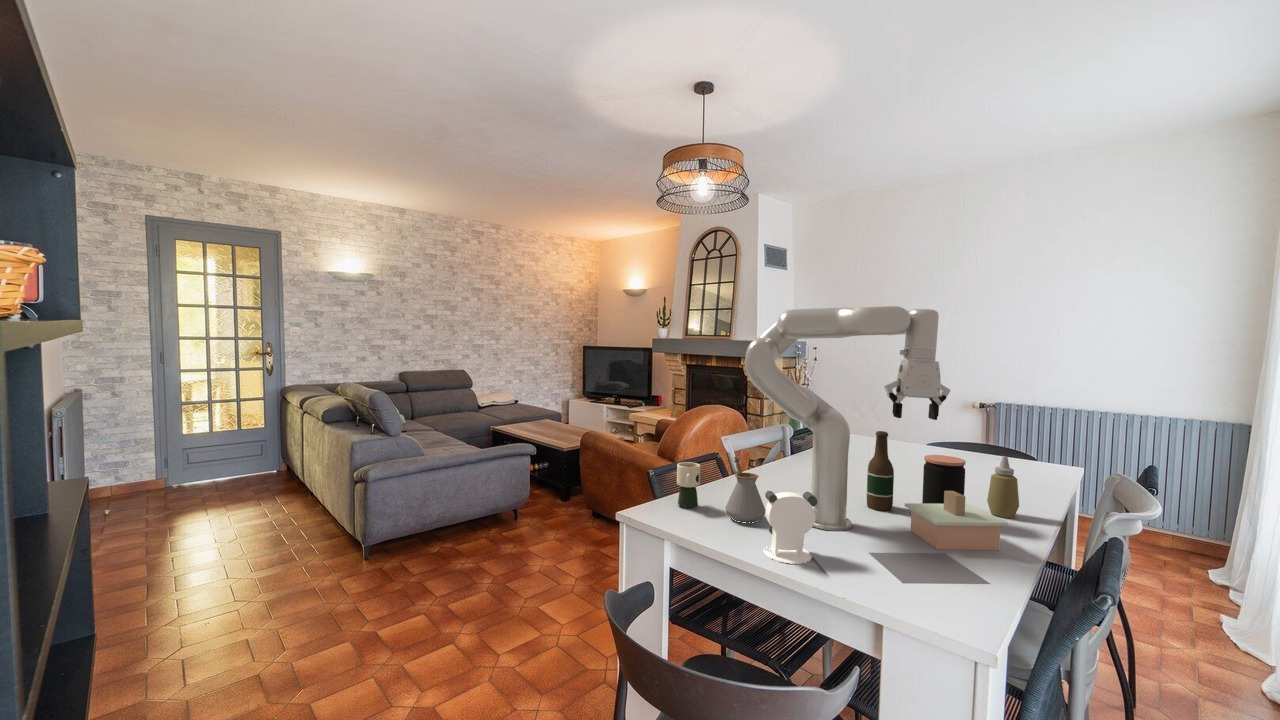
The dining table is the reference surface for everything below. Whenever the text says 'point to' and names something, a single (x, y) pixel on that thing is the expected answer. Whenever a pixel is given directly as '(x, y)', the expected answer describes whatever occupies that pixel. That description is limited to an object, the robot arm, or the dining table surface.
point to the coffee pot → (745, 498)
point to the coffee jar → (942, 477)
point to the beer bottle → (880, 476)
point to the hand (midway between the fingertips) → (914, 418)
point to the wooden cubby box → (956, 535)
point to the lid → (955, 512)
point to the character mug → (688, 483)
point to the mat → (927, 568)
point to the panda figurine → (789, 525)
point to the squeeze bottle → (1003, 491)
